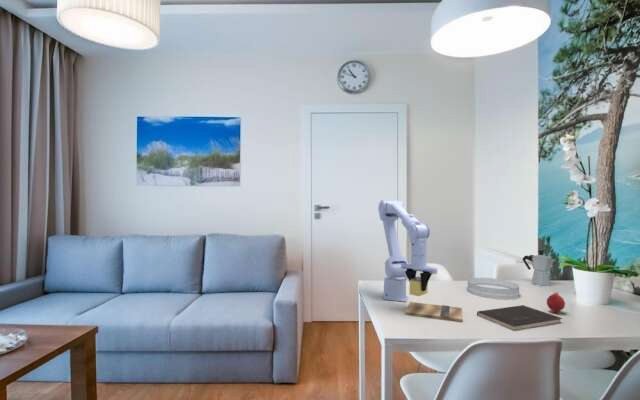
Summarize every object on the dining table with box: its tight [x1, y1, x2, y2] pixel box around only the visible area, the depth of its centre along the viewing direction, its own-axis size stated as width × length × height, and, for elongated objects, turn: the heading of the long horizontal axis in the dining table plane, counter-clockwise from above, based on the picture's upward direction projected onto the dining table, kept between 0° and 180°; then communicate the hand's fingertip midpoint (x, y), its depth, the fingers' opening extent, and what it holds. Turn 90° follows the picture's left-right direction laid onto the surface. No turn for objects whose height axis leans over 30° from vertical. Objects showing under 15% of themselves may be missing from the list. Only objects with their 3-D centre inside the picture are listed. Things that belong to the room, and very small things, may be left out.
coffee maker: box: [522, 249, 556, 287], centre depth 177 cm, size 15×9×18 cm, turn 46°
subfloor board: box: [404, 301, 464, 323], centre depth 131 cm, size 20×14×1 cm
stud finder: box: [409, 276, 429, 297], centre depth 133 cm, size 4×7×6 cm, turn 136°
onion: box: [546, 291, 566, 313], centre depth 132 cm, size 6×6×8 cm
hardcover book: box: [476, 305, 563, 331], centre depth 125 cm, size 16×23×2 cm
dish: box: [466, 277, 520, 301], centre depth 160 cm, size 22×22×5 cm
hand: (418, 289), depth 133 cm, fingers closed on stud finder, 4 cm apart
